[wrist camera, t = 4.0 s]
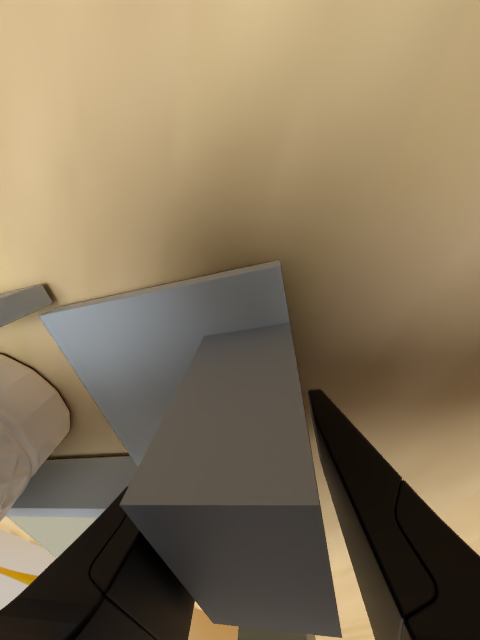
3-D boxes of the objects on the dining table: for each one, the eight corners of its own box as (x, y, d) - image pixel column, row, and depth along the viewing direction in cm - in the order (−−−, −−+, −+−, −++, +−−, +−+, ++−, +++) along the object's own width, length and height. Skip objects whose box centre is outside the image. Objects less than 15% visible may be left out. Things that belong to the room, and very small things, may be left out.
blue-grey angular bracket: (273, 227, 7) (283, 298, 2) (312, 458, 12) (348, 673, 6) (-137, 327, 11) (-505, 439, 6) (9, 469, 16) (-125, 606, 10)
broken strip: (291, 493, 13) (306, 690, 8) (309, 565, 17) (327, 733, 12) (7, 495, 18) (-108, 623, 12) (71, 553, 21) (4, 670, 16)
